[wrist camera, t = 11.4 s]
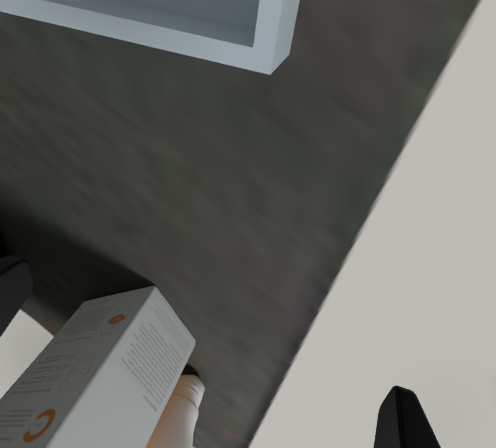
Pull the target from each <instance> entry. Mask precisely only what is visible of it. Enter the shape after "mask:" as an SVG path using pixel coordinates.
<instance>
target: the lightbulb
mask: <svg viewBox="0 0 496 448" xmlns="http://www.w3.org/2000/svg"><path fill="white" fill-rule="evenodd" d="M204 390H205V389H204V385H203V383H202V382H201V381H200V380H199V378H198V377H197V376H195V375H192V374H191V375H182V376H180V377H179V379H178V381H177V383H176V386H175V388H174V390H173V392H172V394H171V396H170V398H169V400H168V402H167V404H166V406H165V408H164V410H163V412H162V414H161V416H160V418H159V421H158V423H157V425H156V427H155V429H154V431H153V433H152V435H151V437H150V439H149V441H148V443H147V445H146V447H145V448H193V446H192V443H193V432H194V427H195V423H196V420H197V418H198V413H199V412H198V407H199V405H200V402H201V399H202V396H203V393H204Z"/></svg>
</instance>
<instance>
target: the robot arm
mask: <svg viewBox="0 0 496 448" xmlns="http://www.w3.org/2000/svg"><path fill="white" fill-rule="evenodd" d="M33 287H34V279H33V275H32V271H31V268H30V264H29V262H28V261H27V260H26V259H24V258H21V257H18V256H14V255H10V256H6V255H5V252H4V248H3V245H2V242H1V238H0V337H1V335H2V334H3V332H4V331H5V330H6V328H7V327H8V325H9V324H10V322H11V321H12V319H13V318H14V317H15V315H16V314H17V312H18V311H19V309H20V308H21V307H22V305H23V304H24V302H25V301H26V299H27V298H28V296H29V295H30V294H31V292H32V290H33ZM374 448H441V447H440V445H439V443H438V441H437V439H436V437H435V435H434V432H433V430H432V428H431V426H430V424H429V422H428V419H427V417H426V415H425V413H424V411H423V409H422V407H421V405H420V402H419V400H418V398H417V396H416V394H415V393H414V392H413V391H411V390H409V389H405V388H402V387H399V386H394V387H393V388H392V389H391V391H390V392H389V393H388V395H387V397H386V398H385V400H384V401H383V403H382V405H381V406H380V410H379V413H378V420H377V428H376V435H375V442H374Z"/></svg>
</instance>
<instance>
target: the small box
mask: <svg viewBox="0 0 496 448" xmlns="http://www.w3.org/2000/svg"><path fill="white" fill-rule="evenodd" d="M195 344H196V340H195V339H194V338H193V336H192V335H191V333H190V332H189V331H188V329H187V328H186V327H185V325H184V324H183V323H182V321H181V320H180V319H179V317H178V316H177V314H176V313H175V312H174V310H173V309H172V307H171V306H170V304H169V303H168V302H167V300H166V299H165V298H164V296H163V295H162V294H161V292H160V291H159V290H158V288H157V287H156V286H150V287H146V288H141V289H136V290H132V291H127V292H123V293H119V294H114V295H110V296H106V297H101V298H97V299H93V300H88V301H85V302H83V303H82V305H81V306H80V307H79V308H78V310H77V311H76V312H75V313H74V314H73V315H72V317H71V318H70V319H69V320H68V321H67V322H66V323H65V325H64V326H63V327H62V328H61V330H60V331H59V332H58V333H57V334H56V336H55V337H54V338H53V339H52V340H51V342H50V343H49V344H48V345H47V346H46V347H45V348H44V350H43V351H42V352H41V353H40V354H39V355H38V357H37V358H36V359H35V360H34V361H33V362H32V363H31V365H30V366H29V367H28V368H27V369H26V370H25V372H24V373H23V374H22V375H21V376H20V377H19V378H18V380H17V381H16V382H15V383H14V384H13V385H12V386H11V388H10V389H9V390H8V391H7V392H6V394H5V395H4V396H3V397H2V398H1V399H0V448H145V447H146V445H147V443H148V441H149V439H150V437H151V435H152V433H153V431H154V429H155V427H156V425H157V423H158V421H159V418H160V416H161V414H162V412H163V410H164V408H165V406H166V404H167V402H168V400H169V398H170V396H171V394H172V392H173V390H174V388H175V386H176V383H177V381H178V379H179V377H180V375H181V373H182V371H183V369H184V367H185V365H186V363H187V361H188V359H189V357H190V355H191V352H192V350H193V348H194V346H195Z"/></svg>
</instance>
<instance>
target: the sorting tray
mask: <svg viewBox="0 0 496 448" xmlns="http://www.w3.org/2000/svg"><path fill="white" fill-rule="evenodd" d="M299 1H300V0H0V11H1V12H5V13H10V14H14V15H18V16H22V17H27V18H31V19H35V20H39V21H44V22H48V23H52V24H56V25H61V26H65V27H69V28H74V29H78V30H82V31H86V32H91V33H95V34H99V35H103V36H108V37H112V38H116V39H120V40H125V41H129V42H133V43H137V44H142V45H146V46H150V47H154V48H159V49H163V50H167V51H171V52H176V53H180V54H184V55H188V56H193V57H197V58H201V59H205V60H210V61H214V62H218V63H222V64H227V65H231V66H235V67H239V68H244V69H248V70H252V71H256V72H261V73H265V74H269V75H270V74H271V73H272V72H273V71H274V70H275V69H276V68H277V67H278V66H279V65H280V64H281V63H282V62H283V61H284V60H285V59H286V57H287V56H288V55H289V53H290V48H291V43H292V37H293V32H294V27H295V22H296V17H297V11H298V6H299Z"/></svg>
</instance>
